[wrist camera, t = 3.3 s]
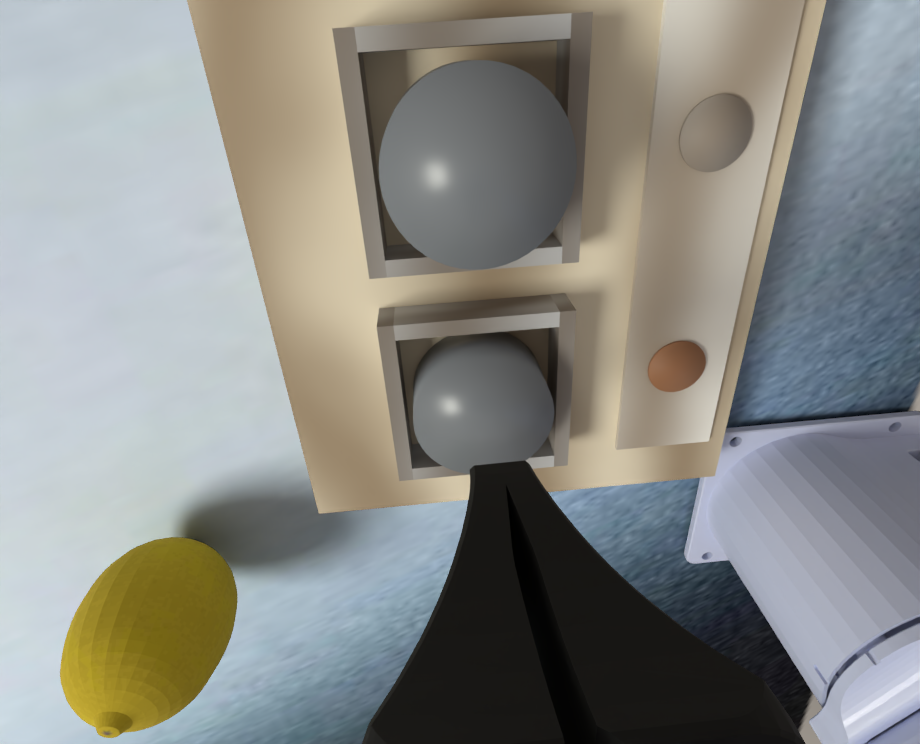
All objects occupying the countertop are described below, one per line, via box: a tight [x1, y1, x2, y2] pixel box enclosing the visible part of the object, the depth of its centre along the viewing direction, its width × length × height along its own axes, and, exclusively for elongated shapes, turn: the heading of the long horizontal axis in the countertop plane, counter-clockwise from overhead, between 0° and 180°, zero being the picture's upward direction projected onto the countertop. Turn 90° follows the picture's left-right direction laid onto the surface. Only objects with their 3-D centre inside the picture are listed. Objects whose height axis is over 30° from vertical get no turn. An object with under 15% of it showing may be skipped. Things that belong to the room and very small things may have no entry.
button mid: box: [379, 60, 577, 270], centre depth 13 cm, size 4×4×2 cm
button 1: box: [413, 332, 554, 474], centre depth 18 cm, size 4×4×2 cm
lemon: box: [60, 537, 237, 738], centre depth 21 cm, size 6×6×8 cm
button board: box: [187, 0, 826, 514], centre depth 15 cm, size 16×26×3 cm, turn 3°
